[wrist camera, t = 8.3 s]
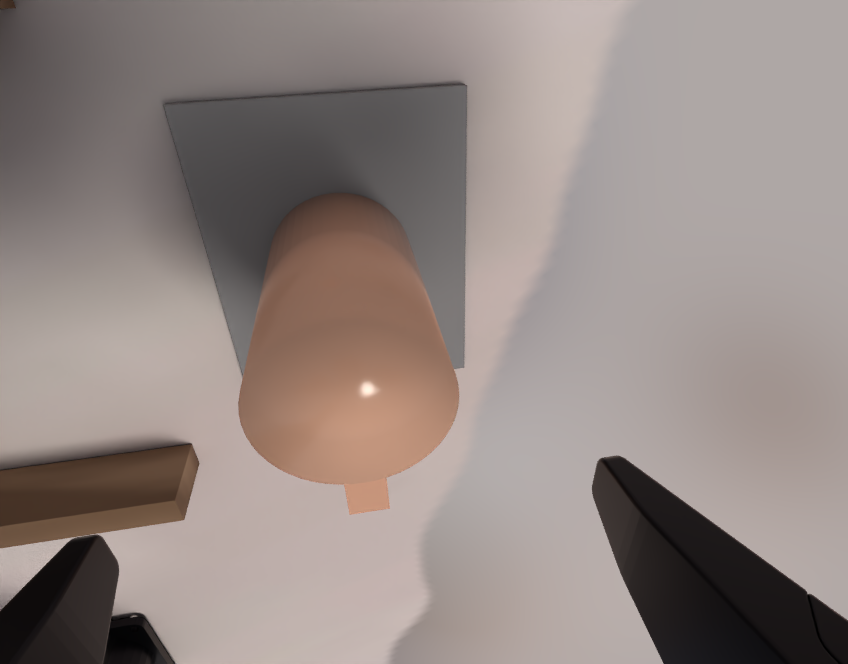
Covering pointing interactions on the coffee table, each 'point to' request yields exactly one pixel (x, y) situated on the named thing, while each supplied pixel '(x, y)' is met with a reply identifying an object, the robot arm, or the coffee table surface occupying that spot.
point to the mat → (328, 183)
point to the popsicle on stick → (346, 352)
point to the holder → (95, 491)
